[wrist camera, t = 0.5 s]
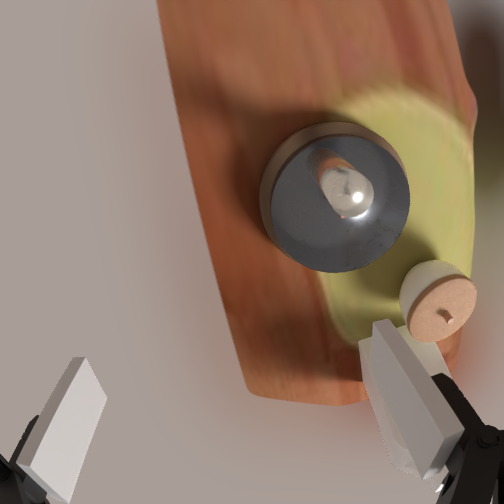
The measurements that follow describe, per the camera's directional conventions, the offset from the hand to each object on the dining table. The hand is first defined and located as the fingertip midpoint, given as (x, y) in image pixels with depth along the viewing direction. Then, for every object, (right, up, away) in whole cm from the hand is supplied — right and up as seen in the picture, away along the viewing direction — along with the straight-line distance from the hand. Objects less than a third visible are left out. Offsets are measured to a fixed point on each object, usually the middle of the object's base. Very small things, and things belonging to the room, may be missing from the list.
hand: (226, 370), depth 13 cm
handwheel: (+10, +10, +20) cm, 25 cm away
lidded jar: (+25, +1, +28) cm, 38 cm away
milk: (+25, -12, +36) cm, 45 cm away
